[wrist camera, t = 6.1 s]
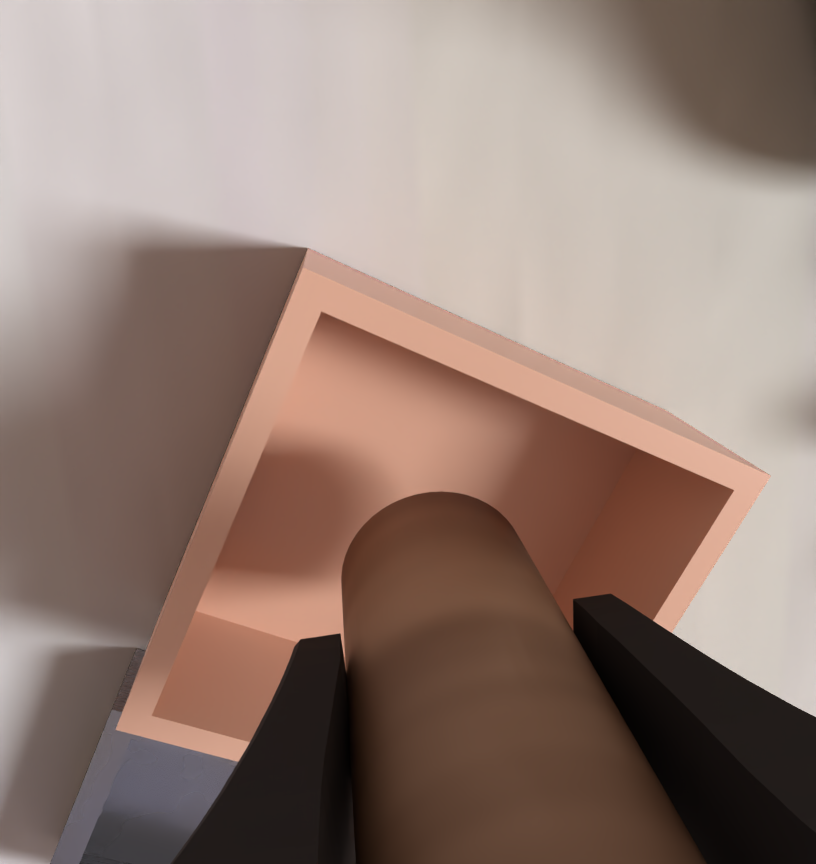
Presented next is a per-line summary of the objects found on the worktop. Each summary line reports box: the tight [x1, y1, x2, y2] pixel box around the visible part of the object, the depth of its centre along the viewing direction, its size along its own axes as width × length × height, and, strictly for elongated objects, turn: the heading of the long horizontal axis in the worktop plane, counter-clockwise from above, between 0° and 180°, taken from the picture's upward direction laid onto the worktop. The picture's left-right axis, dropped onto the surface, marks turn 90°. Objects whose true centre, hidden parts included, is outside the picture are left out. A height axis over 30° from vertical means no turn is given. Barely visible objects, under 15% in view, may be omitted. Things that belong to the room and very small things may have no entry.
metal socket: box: [50, 649, 238, 864], centre depth 17 cm, size 6×6×2 cm
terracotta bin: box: [116, 248, 771, 762], centre depth 14 cm, size 9×9×4 cm
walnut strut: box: [341, 491, 707, 864], centre depth 10 cm, size 4×4×8 cm
